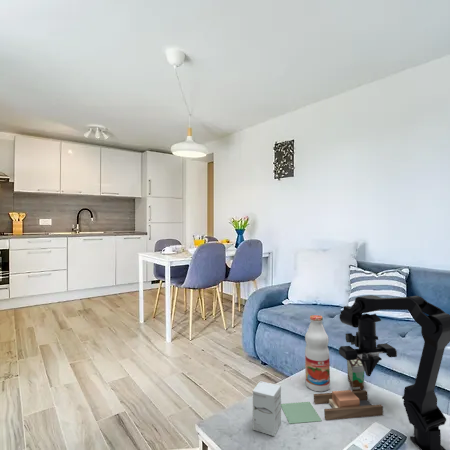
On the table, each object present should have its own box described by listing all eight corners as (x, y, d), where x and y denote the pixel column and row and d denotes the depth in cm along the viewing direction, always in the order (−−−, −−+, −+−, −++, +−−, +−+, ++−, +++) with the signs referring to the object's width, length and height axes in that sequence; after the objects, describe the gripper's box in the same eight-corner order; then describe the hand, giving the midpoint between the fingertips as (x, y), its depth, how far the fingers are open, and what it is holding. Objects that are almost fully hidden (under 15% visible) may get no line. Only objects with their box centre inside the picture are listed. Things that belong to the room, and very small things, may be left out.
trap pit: (379, 412, 104) (379, 412, 104) (361, 414, 103) (361, 413, 103) (367, 400, 111) (367, 400, 111) (350, 401, 111) (350, 401, 111)
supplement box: (252, 430, 96) (251, 390, 96) (260, 417, 103) (260, 379, 103) (274, 437, 93) (273, 396, 93) (282, 423, 99) (281, 384, 99)
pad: (322, 421, 100) (322, 420, 100) (289, 423, 99) (289, 423, 99) (309, 402, 111) (309, 401, 111) (280, 404, 110) (280, 403, 110)
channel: (383, 415, 102) (382, 406, 102) (326, 420, 100) (325, 411, 101) (365, 398, 113) (365, 390, 113) (313, 402, 111) (313, 394, 111)
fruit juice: (326, 380, 126) (325, 313, 127) (332, 392, 117) (331, 319, 117) (303, 379, 127) (302, 312, 128) (308, 391, 118) (306, 319, 118)
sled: (360, 412, 103) (360, 400, 103) (338, 414, 103) (337, 401, 103) (350, 400, 110) (349, 389, 110) (329, 402, 110) (328, 390, 110)
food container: (370, 394, 115) (370, 368, 115) (353, 393, 116) (352, 367, 116) (362, 378, 127) (362, 354, 127) (347, 377, 128) (346, 353, 128)
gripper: (378, 323, 117) (379, 364, 116) (331, 325, 115) (332, 367, 115) (397, 332, 106) (398, 378, 105) (346, 336, 104) (347, 382, 103)
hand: (368, 375), depth 107 cm, fingers closed
